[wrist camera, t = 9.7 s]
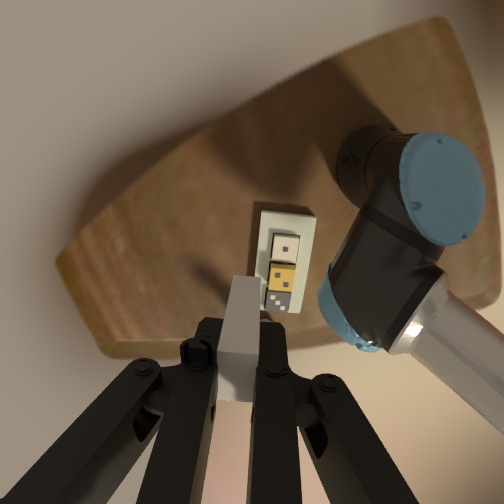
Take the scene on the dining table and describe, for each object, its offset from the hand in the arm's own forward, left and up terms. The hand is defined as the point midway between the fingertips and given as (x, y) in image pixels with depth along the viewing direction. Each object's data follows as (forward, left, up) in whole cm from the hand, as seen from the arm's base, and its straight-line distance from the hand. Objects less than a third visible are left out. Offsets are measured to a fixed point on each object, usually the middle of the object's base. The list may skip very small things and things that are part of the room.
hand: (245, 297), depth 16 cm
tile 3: (+7, +17, -33) cm, 37 cm away
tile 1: (+1, +9, -33) cm, 34 cm away
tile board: (+3, +12, -33) cm, 35 cm away
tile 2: (+4, +13, -31) cm, 34 cm away
